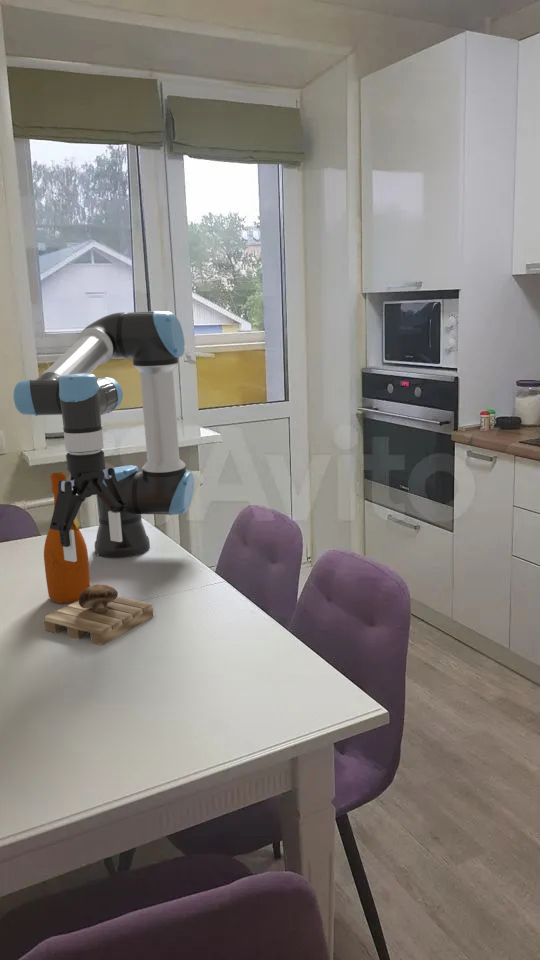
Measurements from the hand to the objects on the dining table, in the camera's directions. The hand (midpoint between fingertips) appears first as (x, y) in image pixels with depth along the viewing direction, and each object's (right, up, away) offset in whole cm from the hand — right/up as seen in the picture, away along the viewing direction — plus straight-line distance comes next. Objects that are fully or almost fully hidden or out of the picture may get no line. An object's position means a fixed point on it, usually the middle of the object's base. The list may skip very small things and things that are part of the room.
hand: (94, 550), depth 156 cm
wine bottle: (-10, -13, +19) cm, 25 cm away
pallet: (0, -16, +3) cm, 16 cm away
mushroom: (0, -13, +3) cm, 13 cm away
